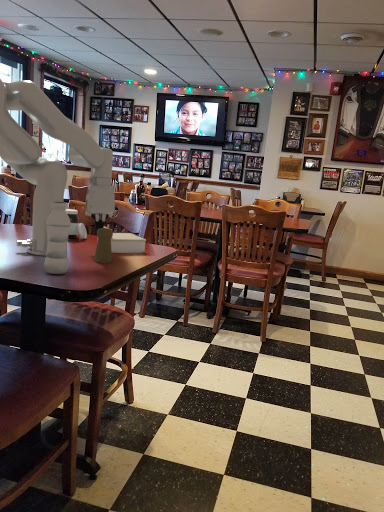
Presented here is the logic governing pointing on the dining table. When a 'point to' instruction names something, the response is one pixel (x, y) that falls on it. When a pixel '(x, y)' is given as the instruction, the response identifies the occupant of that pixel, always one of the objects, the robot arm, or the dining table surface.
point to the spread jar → (75, 225)
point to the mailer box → (127, 246)
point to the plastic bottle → (57, 239)
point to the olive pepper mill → (103, 246)
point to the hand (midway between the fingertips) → (98, 231)
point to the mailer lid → (125, 237)
